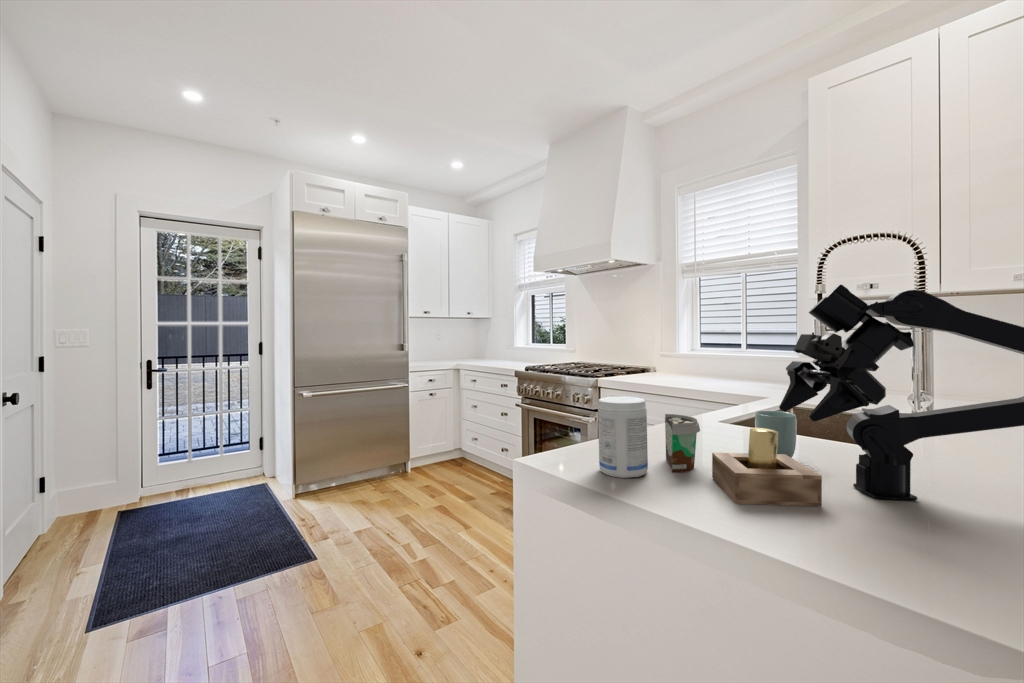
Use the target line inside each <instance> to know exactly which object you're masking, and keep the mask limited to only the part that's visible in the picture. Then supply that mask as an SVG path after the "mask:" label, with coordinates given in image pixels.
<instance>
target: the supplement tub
mask: <svg viewBox="0 0 1024 683" xmlns="http://www.w3.org/2000/svg"><path fill="white" fill-rule="evenodd" d="M647 412H648V411H647V404H646V399H644V398H641V397H635V396H608V397H607V396H605V397H602V398H599V399H598V405H597V417H598V418H597V424H598V425H597V426H598V428H597V429H598V459H599V460H598V463H599V465H598V466H599V470H600V472H602V473H603V474H605V475H607V476H611V477H613V478H621V479H629V478H638V477H639V478H640V477H642V476H644V475H645V474H647V472H648V470H649V464H648V463H649V460H648V459H649V458H648V456H649V454H648V420H647V419H648V416H647V414H648V413H647Z"/></svg>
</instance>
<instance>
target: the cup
mask: <svg viewBox="0 0 1024 683" xmlns="http://www.w3.org/2000/svg"><path fill="white" fill-rule="evenodd" d="M754 417H755V418H754V428H765V429H771V430H775V431H777V432H778V446H777V454H786V455H787V456H789V457H791V458H792V459H793V457H794V454H795V451H796V447H797V432H798V430H797V427H798V425H797V423H798V422H797V415H796V414H795V413H793V412H788V411H785V412H783V411H781V410H780V411H777V410H759V411H758V410H757V411H755V416H754Z"/></svg>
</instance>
